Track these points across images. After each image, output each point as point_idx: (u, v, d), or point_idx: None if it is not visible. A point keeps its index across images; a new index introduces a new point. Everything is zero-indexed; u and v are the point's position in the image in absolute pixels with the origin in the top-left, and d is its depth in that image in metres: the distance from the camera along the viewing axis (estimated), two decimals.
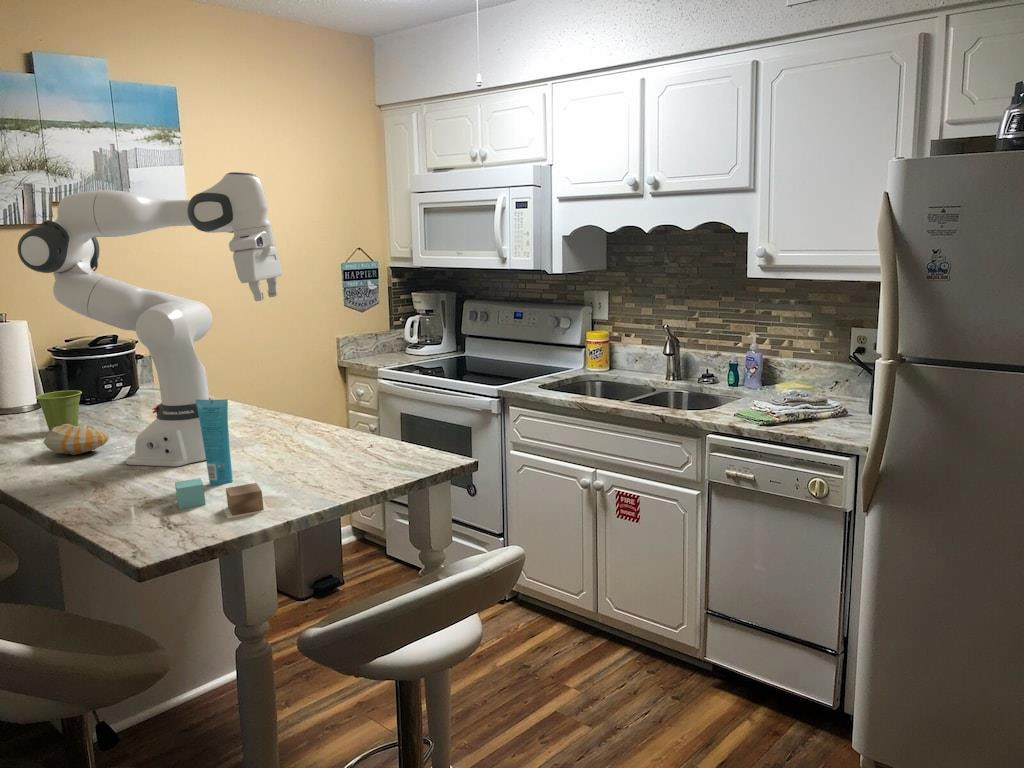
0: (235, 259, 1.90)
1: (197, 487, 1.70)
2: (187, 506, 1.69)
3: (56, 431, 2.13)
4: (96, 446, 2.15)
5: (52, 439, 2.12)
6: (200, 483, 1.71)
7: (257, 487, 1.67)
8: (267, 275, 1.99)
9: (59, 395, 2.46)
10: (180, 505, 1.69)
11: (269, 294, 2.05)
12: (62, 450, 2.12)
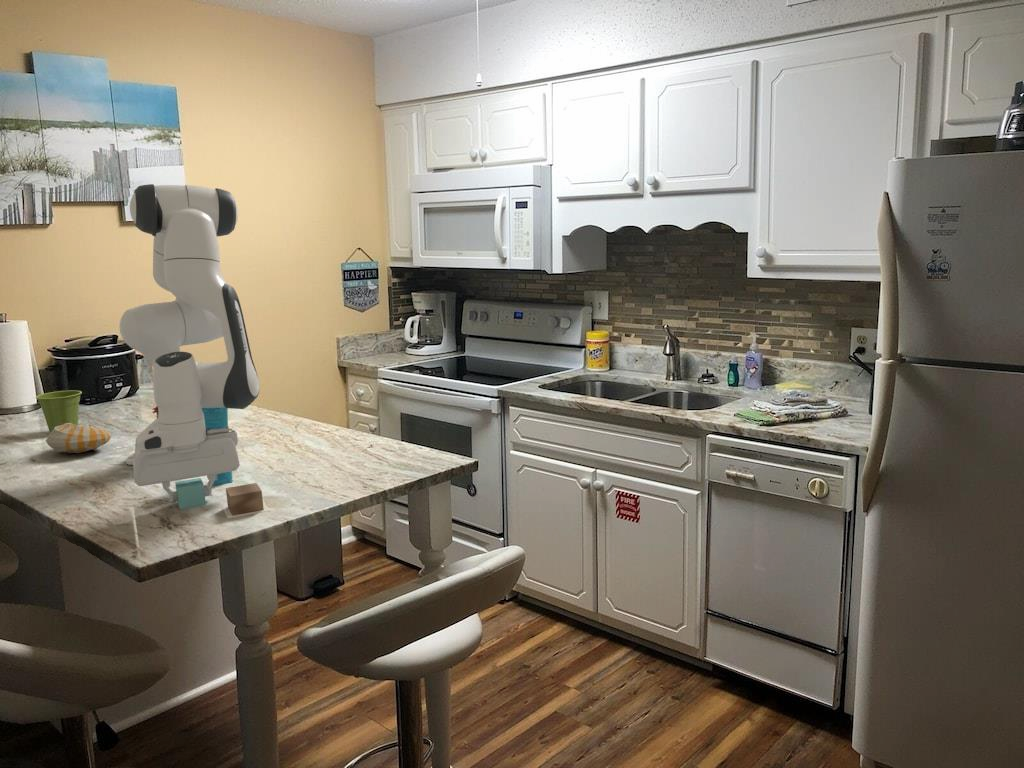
0: None
1: (198, 487, 1.70)
2: (187, 506, 1.69)
3: (59, 430, 2.15)
4: (99, 444, 2.16)
5: (55, 438, 2.13)
6: (200, 483, 1.71)
7: (257, 487, 1.67)
8: (183, 476, 1.69)
9: (59, 395, 2.46)
10: (180, 505, 1.69)
11: None
12: (65, 449, 2.13)
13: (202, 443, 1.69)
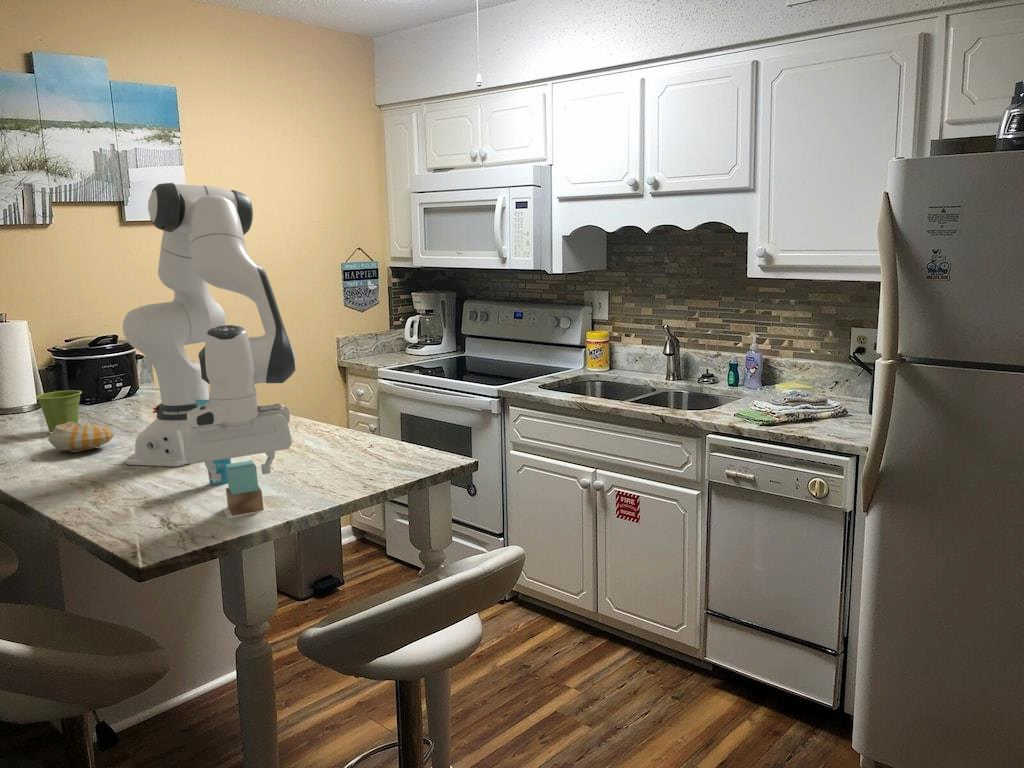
0: (184, 432, 1.61)
1: (250, 469, 1.64)
2: (239, 489, 1.63)
3: (62, 429, 2.16)
4: (103, 442, 2.18)
5: (59, 436, 2.14)
6: (252, 465, 1.65)
7: None
8: (235, 454, 1.63)
9: (59, 395, 2.46)
10: (232, 487, 1.63)
11: (262, 469, 1.68)
12: (69, 447, 2.15)
13: (254, 420, 1.63)
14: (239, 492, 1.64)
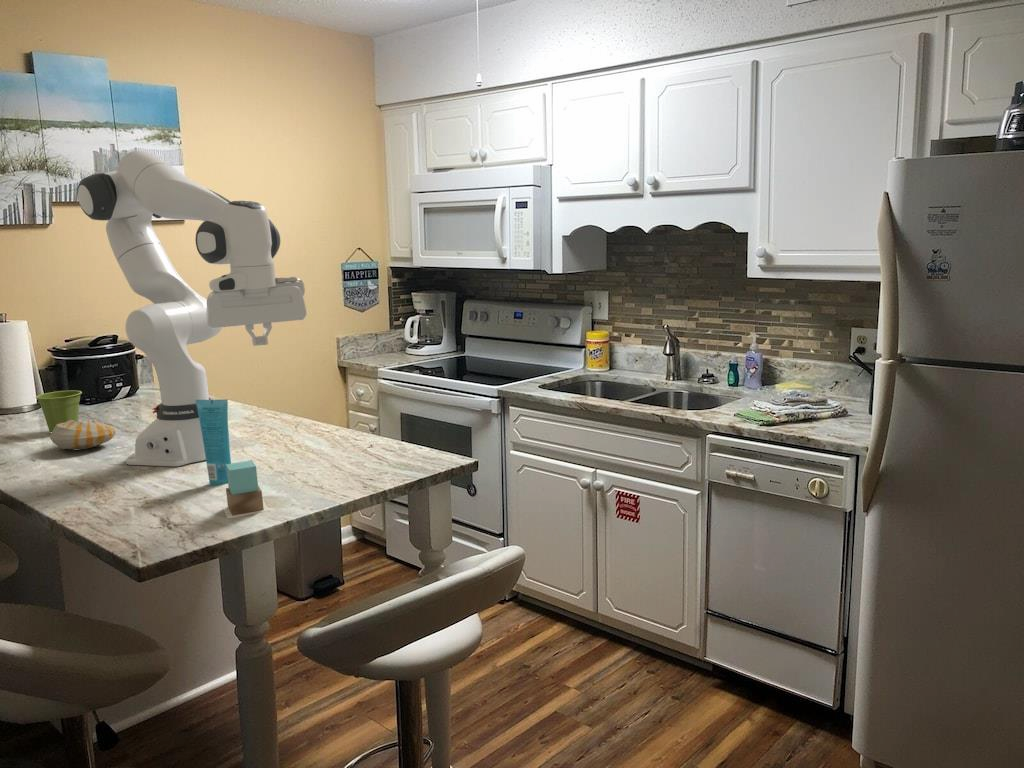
0: (207, 300, 1.73)
1: (250, 469, 1.64)
2: (239, 489, 1.63)
3: (65, 427, 2.18)
4: (106, 440, 2.21)
5: (63, 435, 2.16)
6: (252, 465, 1.65)
7: None
8: (254, 320, 1.75)
9: (59, 395, 2.46)
10: (232, 487, 1.63)
11: (259, 341, 1.78)
12: (73, 445, 2.17)
13: (272, 289, 1.75)
14: (239, 492, 1.64)
